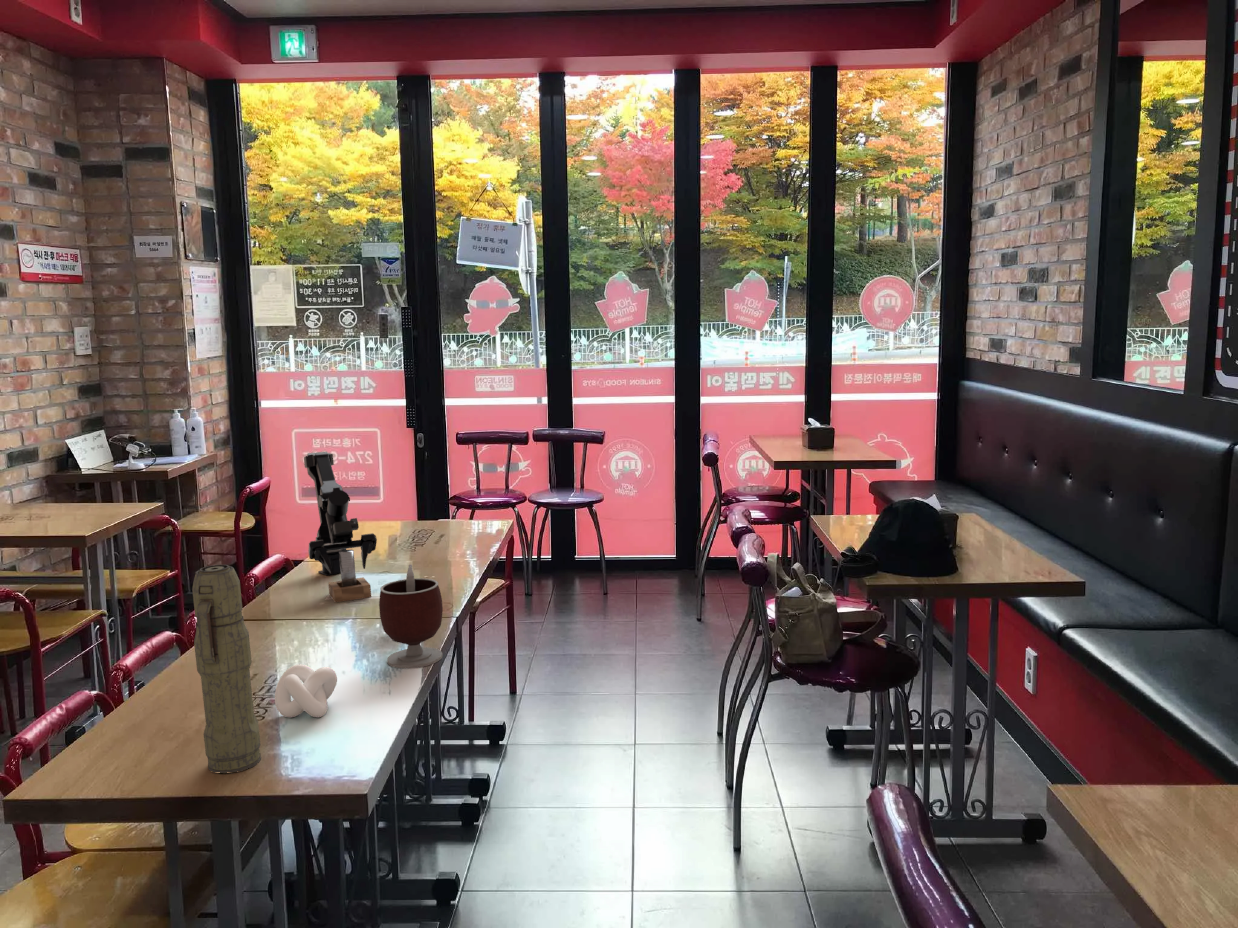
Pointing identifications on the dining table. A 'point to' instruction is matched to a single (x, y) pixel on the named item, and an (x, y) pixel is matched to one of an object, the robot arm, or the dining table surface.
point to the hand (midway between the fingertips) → (348, 570)
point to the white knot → (304, 690)
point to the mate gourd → (411, 619)
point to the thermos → (224, 671)
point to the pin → (347, 568)
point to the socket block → (349, 590)
